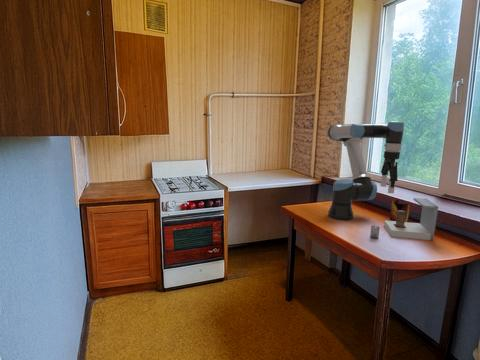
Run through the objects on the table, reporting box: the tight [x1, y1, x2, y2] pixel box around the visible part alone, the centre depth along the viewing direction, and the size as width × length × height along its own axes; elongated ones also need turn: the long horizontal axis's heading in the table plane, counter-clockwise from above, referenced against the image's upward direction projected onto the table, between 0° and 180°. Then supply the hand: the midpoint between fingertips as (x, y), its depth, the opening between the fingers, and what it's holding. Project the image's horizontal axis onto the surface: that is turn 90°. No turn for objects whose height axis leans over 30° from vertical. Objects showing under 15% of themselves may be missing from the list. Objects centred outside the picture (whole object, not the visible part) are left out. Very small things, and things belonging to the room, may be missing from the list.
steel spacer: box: [369, 225, 380, 240], centre depth 155 cm, size 4×4×6 cm
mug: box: [389, 199, 411, 222], centre depth 180 cm, size 10×14×12 cm
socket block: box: [383, 197, 439, 241], centre depth 161 cm, size 16×20×18 cm
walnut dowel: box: [396, 210, 406, 228], centre depth 162 cm, size 4×4×12 cm
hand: (386, 189), depth 163 cm, fingers open, 13 cm apart
